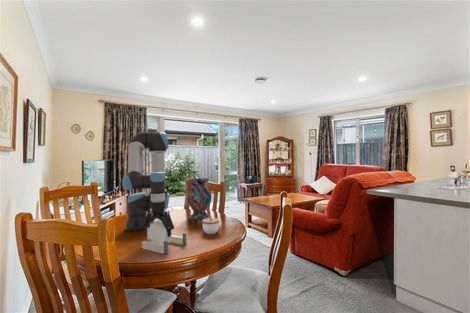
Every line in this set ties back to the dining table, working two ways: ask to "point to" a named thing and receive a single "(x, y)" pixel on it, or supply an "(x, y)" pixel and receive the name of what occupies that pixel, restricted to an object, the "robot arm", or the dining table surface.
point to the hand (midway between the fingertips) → (158, 240)
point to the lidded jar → (210, 225)
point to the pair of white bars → (164, 248)
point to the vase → (199, 198)
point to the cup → (157, 232)
